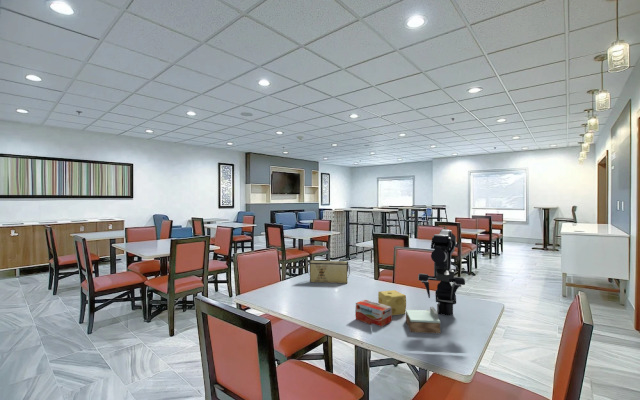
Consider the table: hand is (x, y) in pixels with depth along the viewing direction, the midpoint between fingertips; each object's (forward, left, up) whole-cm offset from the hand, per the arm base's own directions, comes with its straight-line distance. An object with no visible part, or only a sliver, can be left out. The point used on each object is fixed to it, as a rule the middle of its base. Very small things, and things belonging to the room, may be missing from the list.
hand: (440, 299), depth 133 cm
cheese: (+19, -18, -13) cm, 29 cm away
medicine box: (+29, -6, -14) cm, 32 cm away
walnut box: (+8, 0, -13) cm, 15 cm away
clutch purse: (+55, -73, -13) cm, 92 cm away
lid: (+8, 0, -8) cm, 11 cm away
